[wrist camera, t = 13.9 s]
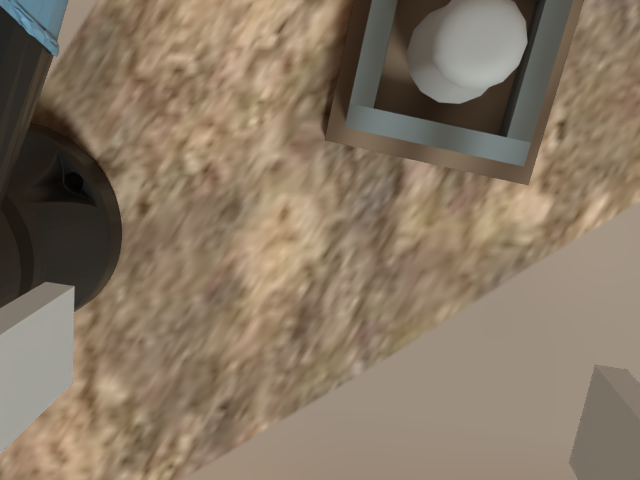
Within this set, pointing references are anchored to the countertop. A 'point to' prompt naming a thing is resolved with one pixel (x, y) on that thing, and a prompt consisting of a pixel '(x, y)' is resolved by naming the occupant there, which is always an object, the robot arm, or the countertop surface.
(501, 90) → the collar socket
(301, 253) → the countertop surface
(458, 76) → the salt shaker
